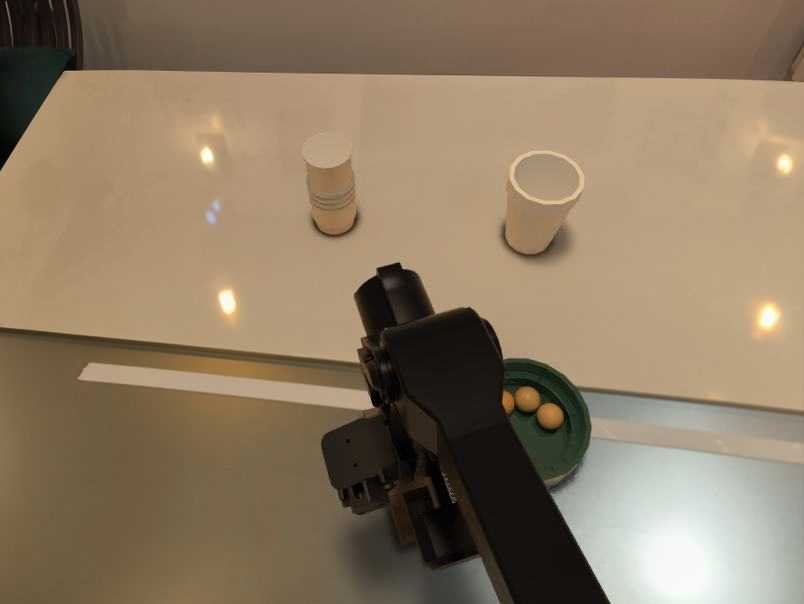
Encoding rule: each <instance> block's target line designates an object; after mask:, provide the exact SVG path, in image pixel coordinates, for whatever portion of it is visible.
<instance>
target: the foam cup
mask: <svg viewBox="0 0 804 604" xmlns="http://www.w3.org/2000/svg"><path fill="white" fill-rule="evenodd" d="M507 175H508V176H507V181H506V188H505V190H506V192H507V195H506V216H505V217H506V218H505V235H504V236H505V240H506V241H507V244H508V245H509V246H510V247H511V248H512V249H513V250H514V251H515V252H518V253H521V254H524V255H537V254H540V253H541V252H544V251H545V250H546V249H547V247H548V246H549V245H550V243H551V242H552V240H553V239H554V237H555V236H556V234H557V232H558V231H559V229H560V228H561V227H562V225H563V223H564V221H565V220H566V219H567V217H568V216H569V213H570V212H571V211H572V210H573V208H574V207H575V206H576V204H577V203H579V201H580V199H581V196H582V194H583V192H584V189H585V175H584V172H583V171H582V169H581V168H580V166H579V164H578V163H577V162H575V161H574V160H572V159H571V158H570V157H568V156H567V155H565V154H562V153H559V152H555V151H553V150H531V151H529V152H526V153H523V154H520V155H519V156H518V157H517V158H516V159H515V160H514V161H513V162H512V164H510V167H509V171H508V174H507Z"/></svg>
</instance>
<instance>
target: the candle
mask: <svg viewBox="0 0 804 604" xmlns="http://www.w3.org/2000/svg"><path fill="white" fill-rule="evenodd" d="M353 151H354V150H353V144H352V142H351V140H350V139H349V138H348V137H347V136H346V135H344V134H342V133H339V132H336V131H322V132H319V133H315V134H314V135H311V136H309V138H308V139H306V141H305V142H304V143H303V146H302V148H301V156H302V158H303V161H304V162H305V168H306V177H305V180H306V188H307V194H308V200H309V203H310V206H311V216H312V218H313V220H314V221H315V224H316V226H317V228H318V229H319V231H321V232H323V233H325V234H327V235H333V236H335V235H341V234H344V233H346V232H347V231H349V230H350V229H351V228H352V227H353V225H354V223H355V217H356V215H357V204H356V197H357V192H356V178H355V177H356V175H355V172H354V170H353V167H352V166H353V165H352V155H353Z"/></svg>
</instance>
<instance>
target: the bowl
mask: <svg viewBox="0 0 804 604" xmlns="http://www.w3.org/2000/svg"><path fill="white" fill-rule="evenodd" d="M503 362H504V364H505V369H506V370H505V381H504V390H505V391H507V392H509V393H510V394H511V395H512V396H513V398H514V396H515V393H516V391H517V390H518V389H519V388H521V387H525V386H528V387H532V388H534V389H535V390H536V391H537V392H538V393H539V395H540V405H539V407H540V406H542V405H543V404H546V403H552V404H555V405H557V406H558V407H559V408H560V409H561V410H562V412H563V415H564V419H563V423H562V424H561V426H560V427H558V428H556V429H546V428H544V427H543V426H541V425H540V423H539V422H538V420H537V411H538V409H539V407H538V408H537V409H536V410H534V411H532V412H524V411H522V410H520V409H519V408H518V407H517V406H516V404H515V405H514V409H513V410H512V412H511V413H510V414H508V416H509V418H510V420H511V422H512V424H513V426H514V428H515V430H516V431H517V433H518V435H519V437H520V439H521V440H522V442H523V444H524V446H525V448H526V450H527V451H528V453H529V455H530V457H531V459H532V461H533V462H534V464H535V466H536V468H537V470H538V472H539V473H540V475H541V477H542V479H543V481H544V482H545V484H546V486H547V488H550V487H554V486H557V485H558V484H559V483H561V482H562V481H563V480H564V479H565V478H567V477H568V476H569V475H570V474H571V473H572V472H573V471H574V469H576V467H577V466H578V465H579V464H580V462H581V461H582V460H583V458H584V456H585V455H586V453H587V450H588V449H589V447H590V444H591V435H592V429H593V428H592V427H593V425H592V421H591V415H590V411H589V407H588V405H587V403H586V401H585V399H584V397H583V395H582V394H581V391H580V390H579V388H578V387H577V386H576V385H575V384H574V383H573V382H572V381H571V380H570V379H569V378H568V377H567V376H566V375H565V374H564V373H562V372H561V371H558V370H557V369H556V368H554V367H552V366H551V365H549V364H548V363H544V362H541V361H538V360H534V359H531V358H527V357H526V358H523V357H509V358H508V357H507V358H503ZM514 402H515V401H514Z"/></svg>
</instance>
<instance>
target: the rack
mask: <svg viewBox="0 0 804 604" xmlns="http://www.w3.org/2000/svg"><path fill="white" fill-rule="evenodd" d="M379 409H380V408H377V407H372V408H368V409H365V410H363V411H362V416H363V418H366V419H367V418H368V417H371V416H374V415H378V410H379ZM414 477H415V481H414V482H411V483H408V484H404V485H401V486H399V483H398V481H394V485H395V488H394V489H392V490H390V491H389V493H388V496H389V499H390V503H389V504H388V506H389V509H390V513H391V516H392V519H393V522H394V523H393V524H394V526H395V529H396V531H397V535H398V540H399V542H400V545H401V546H405V545H408V544H412V543H414V542H415V543H416V541H415V538H414V535H413V531H412V527H411V524H410V520H411V518H412V517H411V515H410V511H409V509H408V505H407V503H406V502H407V501H409V500H412V499H416V498H420V497H423V496H425V498H426V501H427V504H428V507H429V510H433V509H436V508H439V507H438V504H437V501H436V498H435V495H434V493H433V490H432V487H431V484H430V481H429V478H428V477H422V476H417V475H414Z"/></svg>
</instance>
